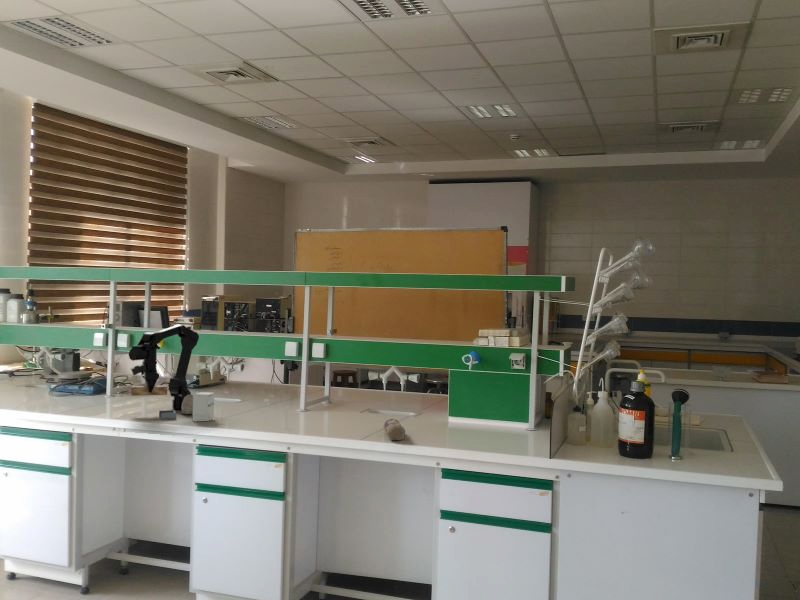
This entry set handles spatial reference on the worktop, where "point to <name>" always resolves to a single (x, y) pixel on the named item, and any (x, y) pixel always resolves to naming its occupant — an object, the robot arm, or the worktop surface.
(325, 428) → the worktop surface
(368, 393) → the worktop surface
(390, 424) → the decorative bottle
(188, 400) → the pumice stone
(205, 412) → the supplement box
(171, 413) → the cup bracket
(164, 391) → the walnut rail
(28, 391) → the worktop surface
